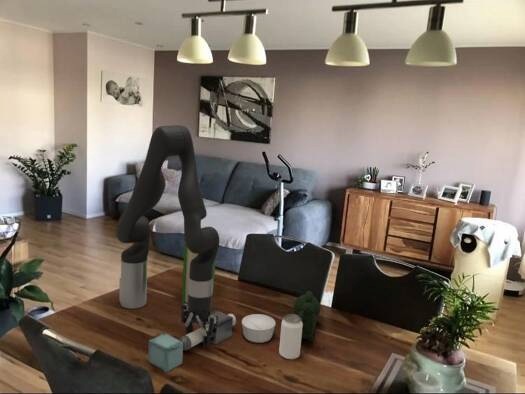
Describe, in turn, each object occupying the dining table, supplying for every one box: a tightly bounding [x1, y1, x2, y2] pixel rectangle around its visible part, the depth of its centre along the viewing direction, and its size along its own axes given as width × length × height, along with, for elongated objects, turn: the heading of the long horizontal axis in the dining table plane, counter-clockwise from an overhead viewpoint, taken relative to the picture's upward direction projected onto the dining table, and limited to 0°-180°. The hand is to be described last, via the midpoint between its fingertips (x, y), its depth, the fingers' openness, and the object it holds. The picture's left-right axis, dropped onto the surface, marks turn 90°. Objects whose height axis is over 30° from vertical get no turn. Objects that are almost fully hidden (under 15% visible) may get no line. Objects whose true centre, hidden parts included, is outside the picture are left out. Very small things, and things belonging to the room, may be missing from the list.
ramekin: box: [241, 313, 276, 344], centre depth 139 cm, size 11×11×5 cm
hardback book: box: [181, 242, 217, 305], centre depth 165 cm, size 18×7×24 cm, turn 170°
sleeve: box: [198, 309, 234, 346], centre depth 137 cm, size 8×8×6 cm
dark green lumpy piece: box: [293, 290, 321, 342], centre depth 144 cm, size 9×19×25 cm
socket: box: [147, 332, 184, 373], centre depth 120 cm, size 8×6×6 cm
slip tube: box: [178, 313, 237, 351], centre depth 135 cm, size 4×22×4 cm, turn 143°
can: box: [278, 313, 303, 360], centre depth 129 cm, size 6×6×12 cm
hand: (197, 341), depth 131 cm, fingers open, 7 cm apart
